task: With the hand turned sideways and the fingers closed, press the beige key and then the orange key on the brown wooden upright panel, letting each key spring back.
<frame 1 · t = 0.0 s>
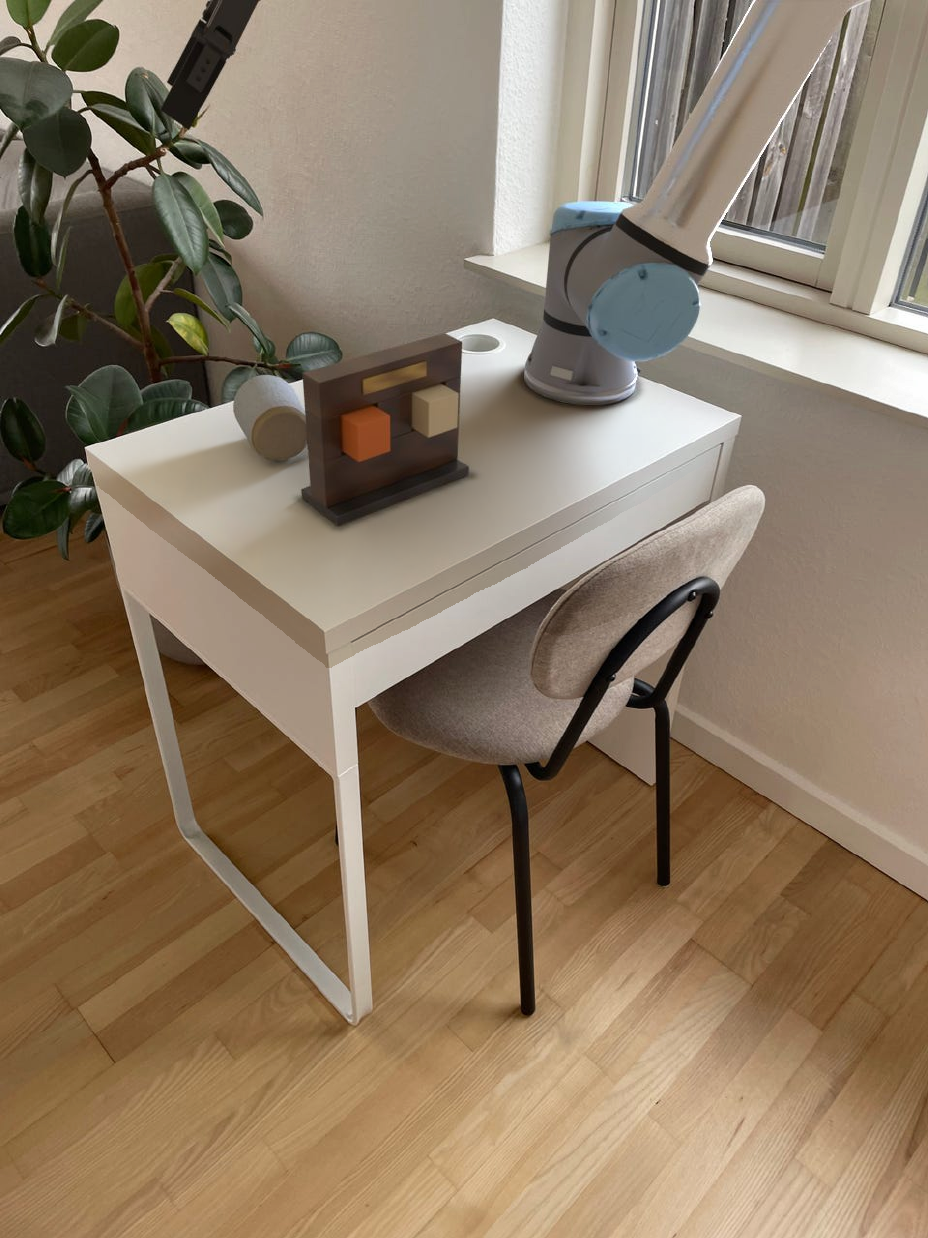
hand: (177, 104, 87), 36 cm above the table, tool tilted 35°, fingers open, 13 cm apart
brown wooden upright panel: (387, 486, 104), on the table
orange key: (362, 431, 95), point 9 cm above the table, slide at 0.1 cm
beige key: (431, 408, 100), point 9 cm above the table, slide at 0.1 cm
ceramic mug: (286, 447, 111), on the table
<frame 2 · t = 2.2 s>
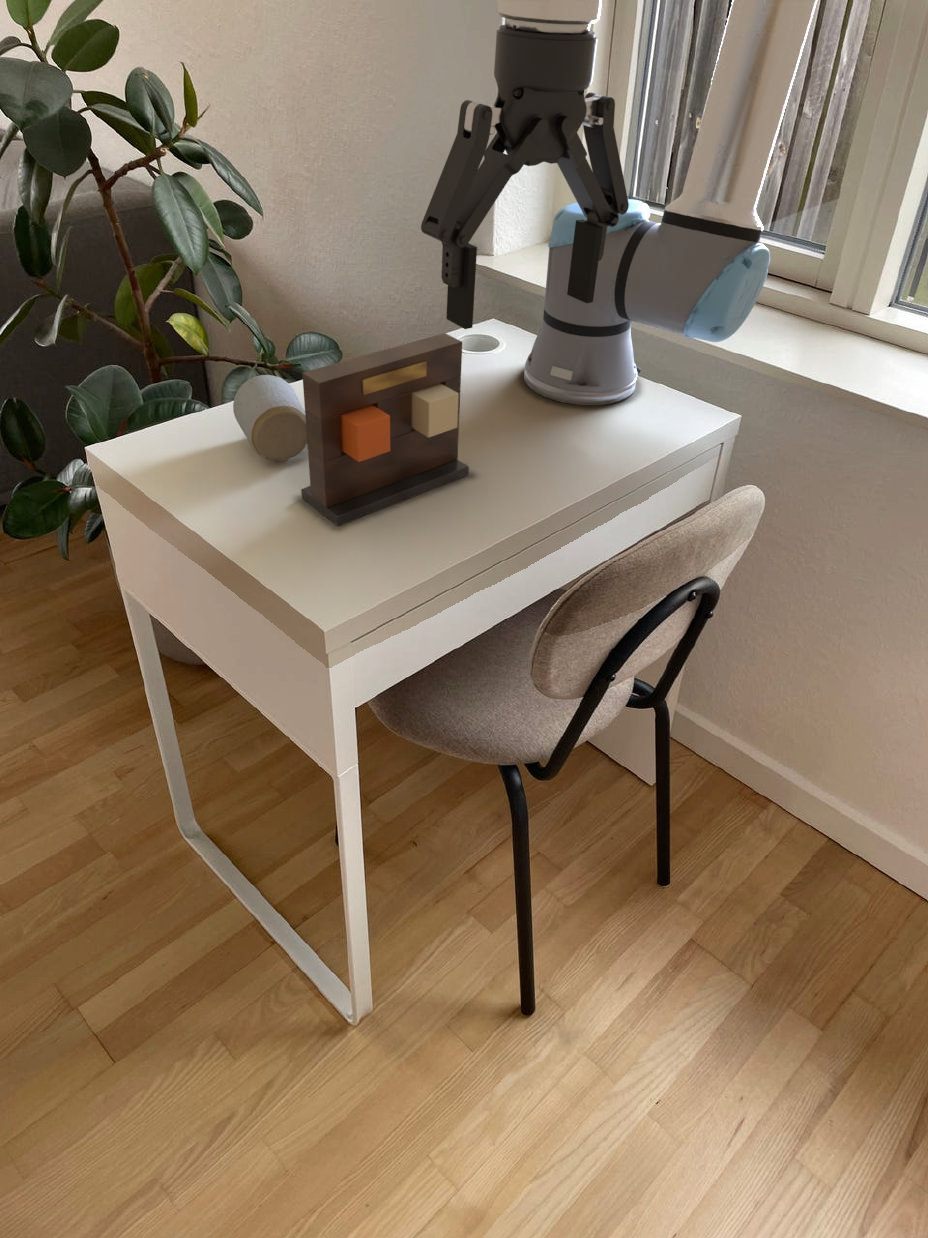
hand: (521, 310, 82), 24 cm above the table, tool pointing down, fingers open, 13 cm apart
nothing on the table moved.
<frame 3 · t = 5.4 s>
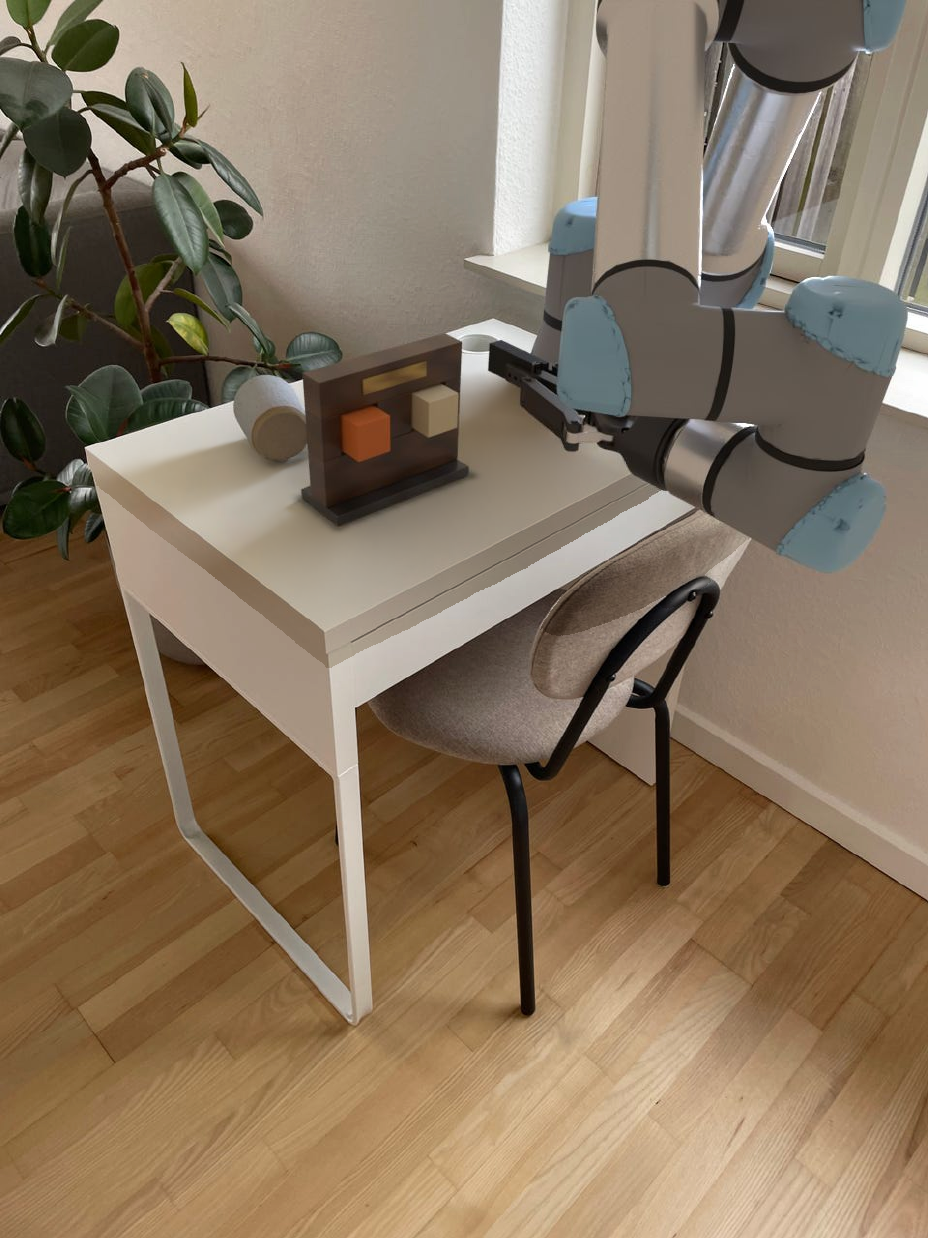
hand: (494, 355, 88), 18 cm above the table, tool horizontal, fingers closed
nothing on the table moved.
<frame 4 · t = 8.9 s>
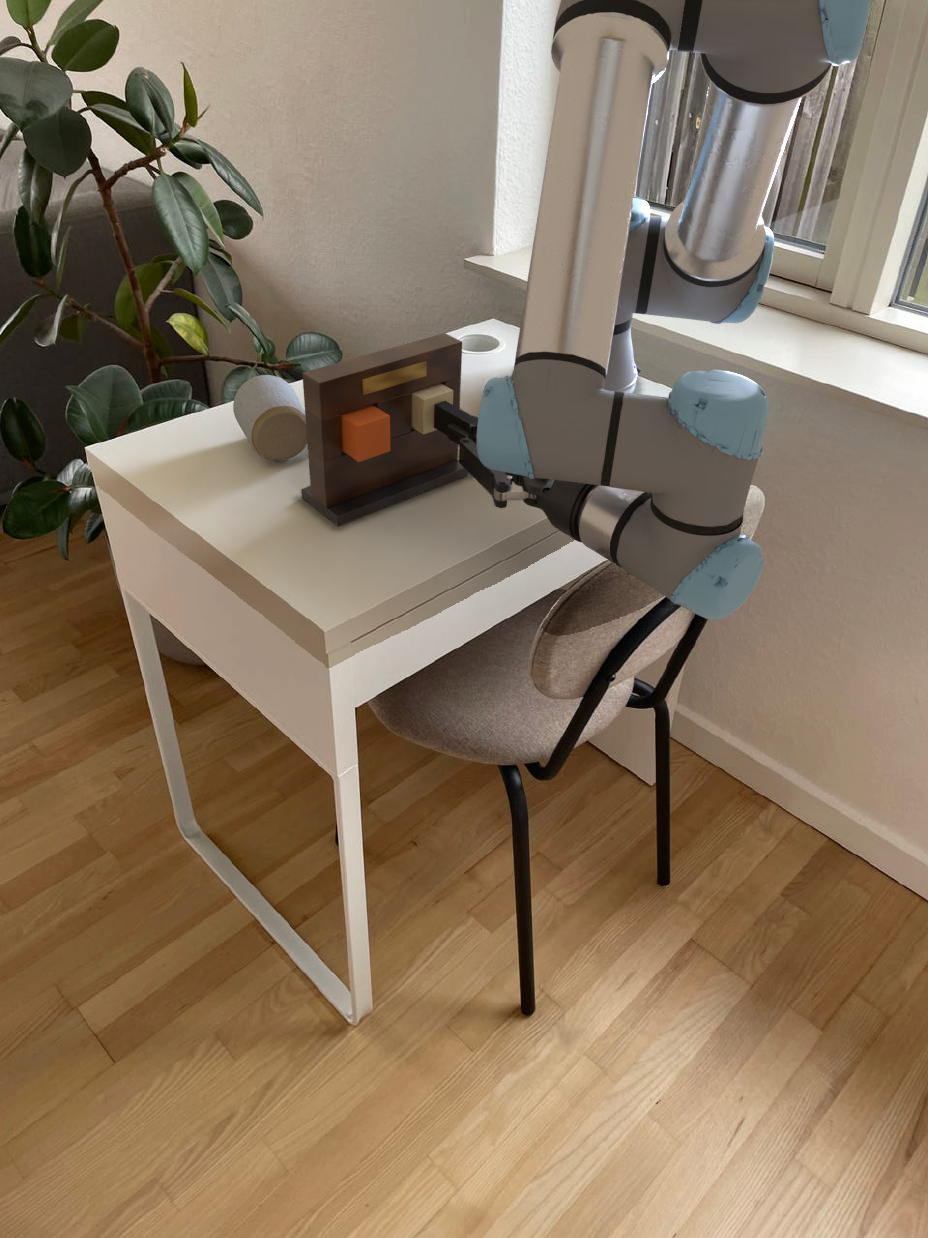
hand: (439, 414, 99), 9 cm above the table, tool horizontal, fingers closed
beige key: (426, 405, 100), point 9 cm above the table, slide at -0.8 cm, touching gripper
everything else where it was.
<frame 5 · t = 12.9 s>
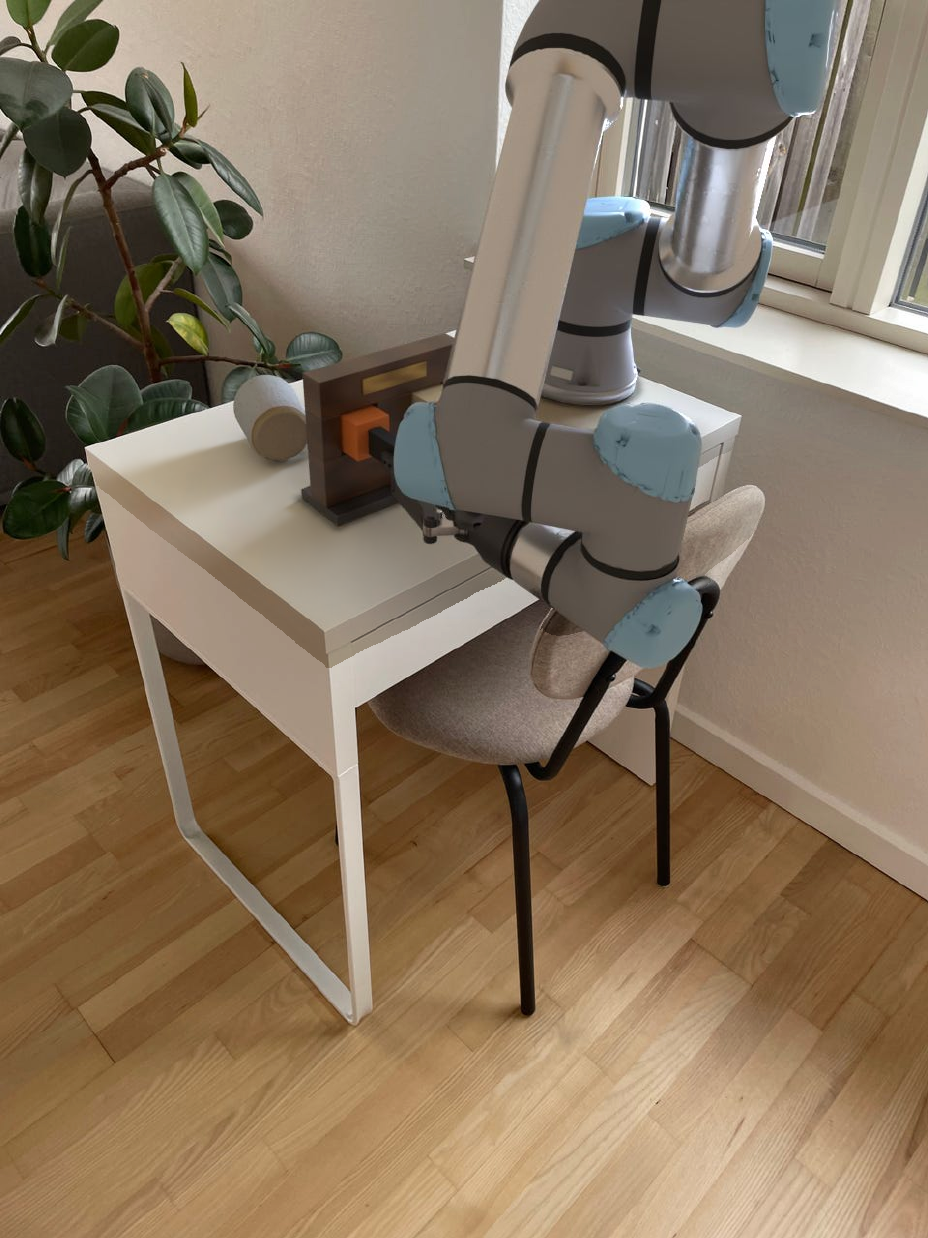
hand: (374, 440, 94), 9 cm above the table, tool horizontal, fingers closed
orange key: (362, 430, 95), point 9 cm above the table, slide at -0.1 cm, touching gripper
beige key: (431, 408, 100), point 9 cm above the table, slide at 0.1 cm
everything else where it was.
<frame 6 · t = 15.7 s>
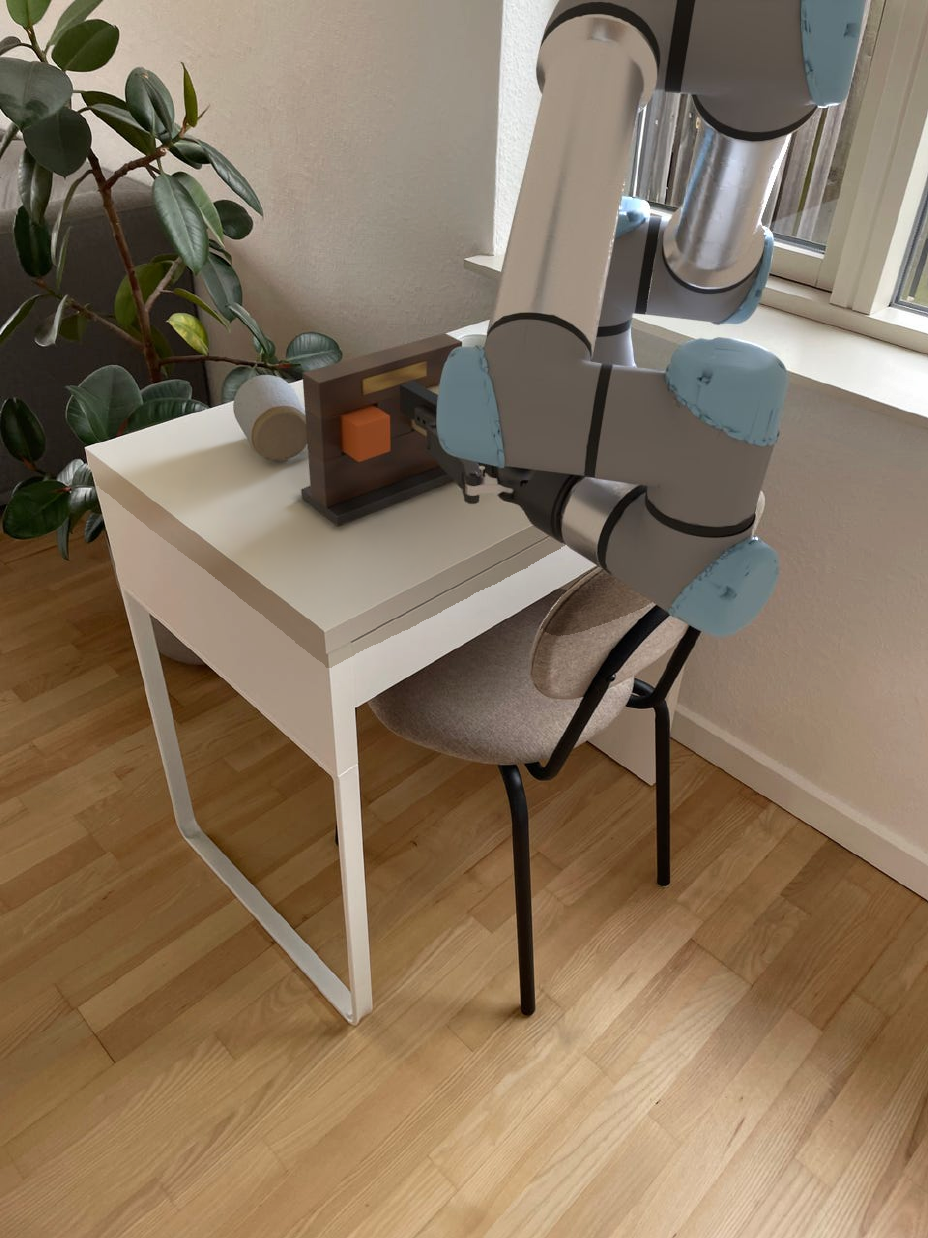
hand: (406, 396, 87), 16 cm above the table, tool horizontal, fingers closed
orange key: (362, 431, 95), point 9 cm above the table, slide at 0.1 cm
everything else where it was.
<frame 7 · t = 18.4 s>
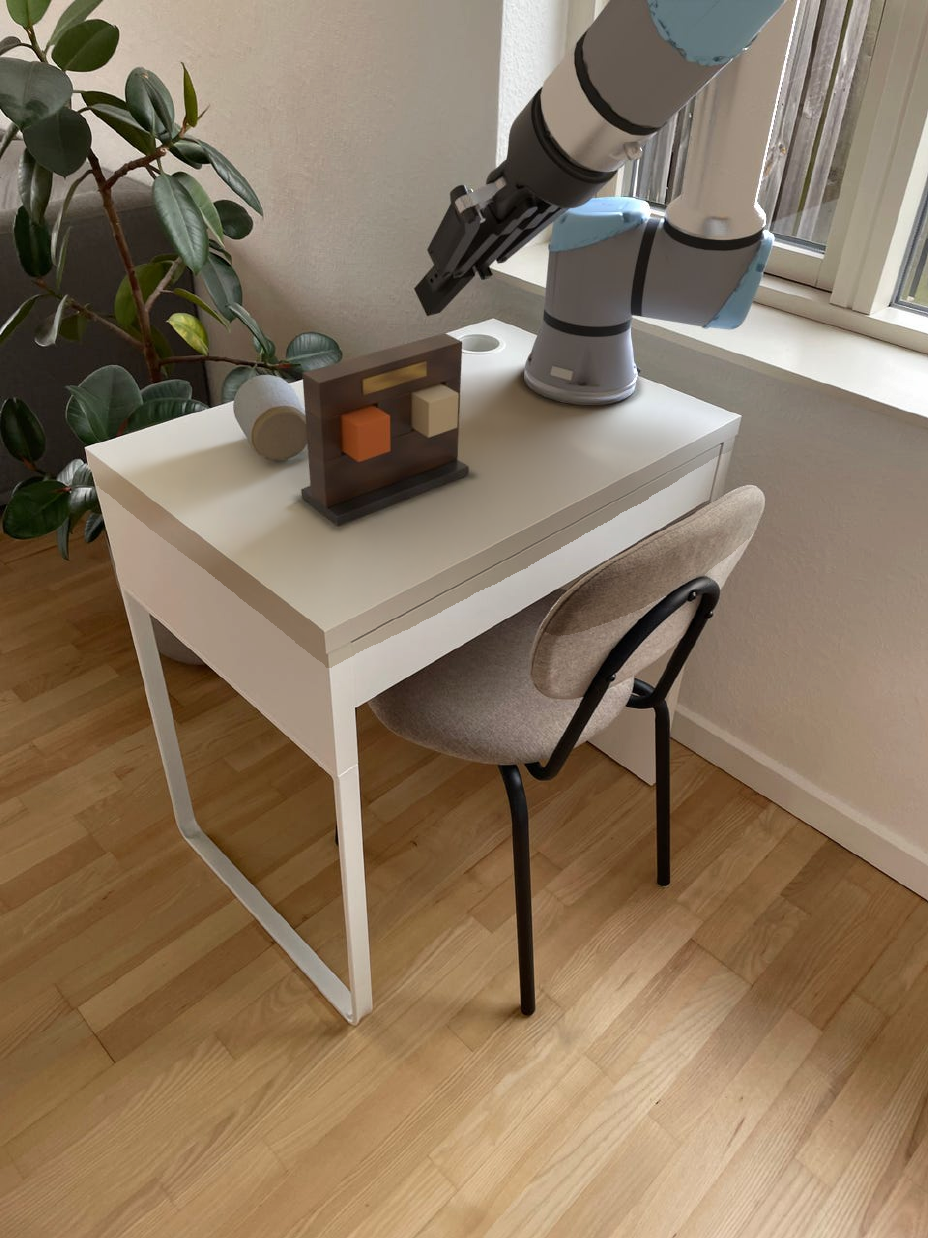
hand: (427, 300, 83), 24 cm above the table, tool tilted 45°, fingers closed
nothing on the table moved.
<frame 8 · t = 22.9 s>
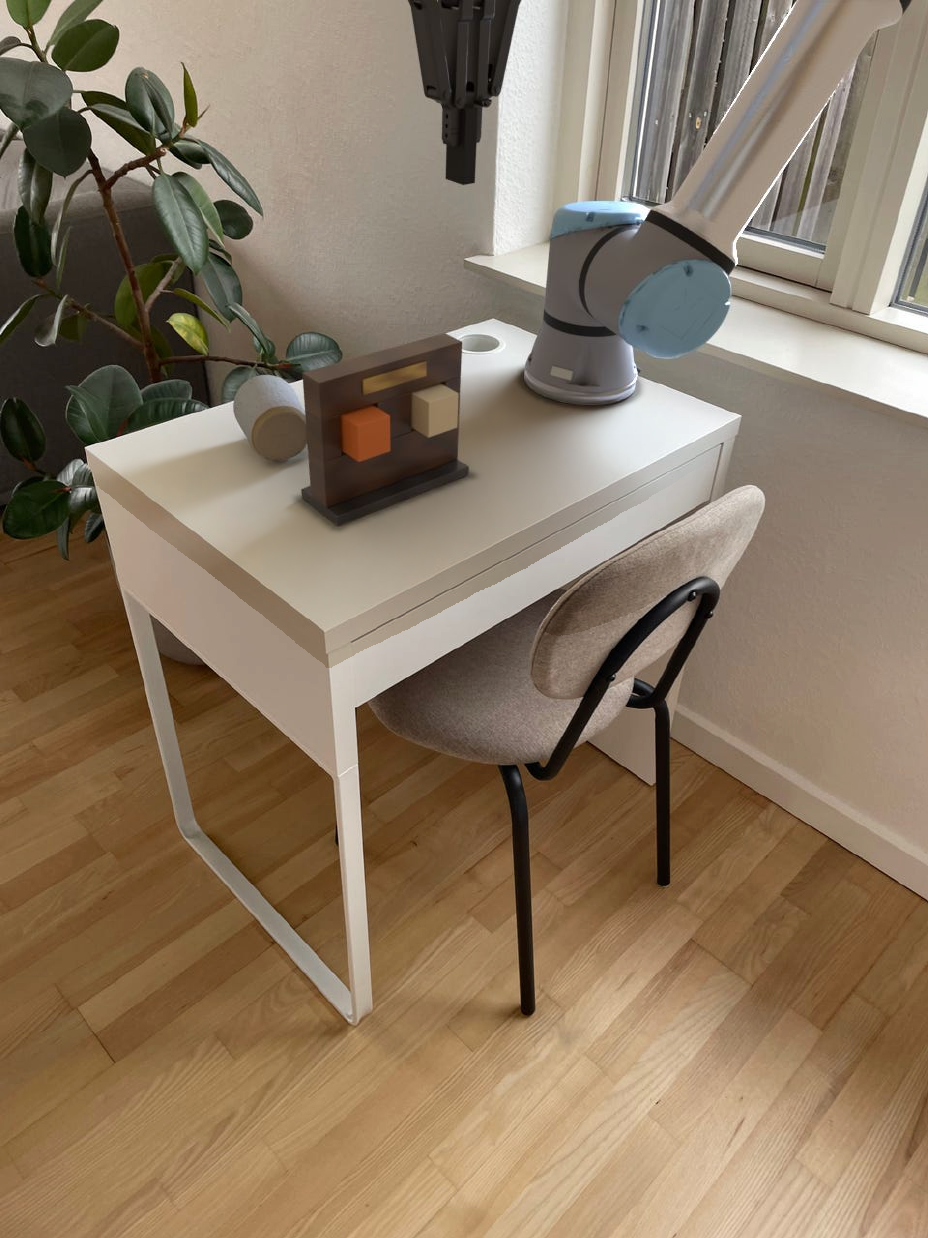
hand: (460, 180, 91), 30 cm above the table, tool pointing down, fingers closed
nothing on the table moved.
at the end: beige key pushed in 1.5 cm at the most during the clip, back to where it started at the end; orange key pushed in 1.5 cm at the most during the clip, back to where it started at the end; orange key slide at 0.1 cm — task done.
